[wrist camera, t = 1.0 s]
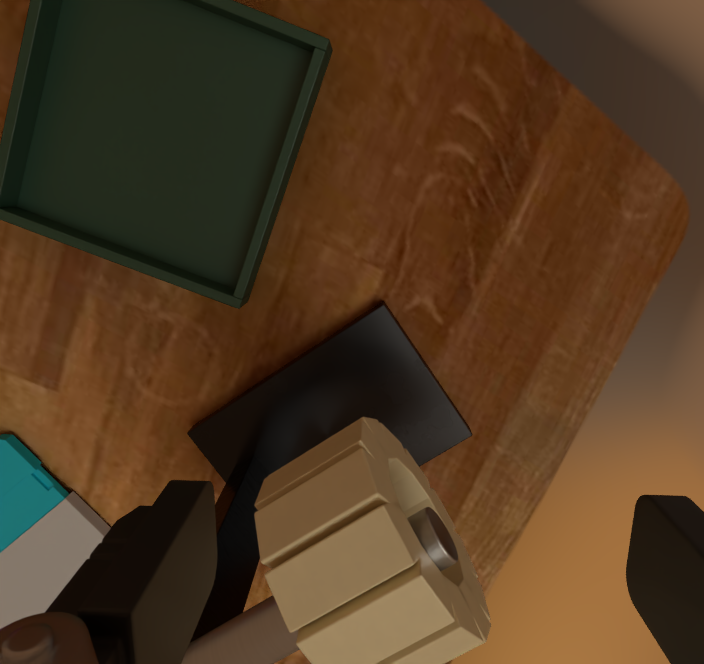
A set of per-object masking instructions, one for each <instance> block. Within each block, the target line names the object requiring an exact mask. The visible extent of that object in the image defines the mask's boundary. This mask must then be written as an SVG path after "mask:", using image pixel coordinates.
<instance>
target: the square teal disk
mask: <svg viewBox="0 0 704 664" xmlns="http://www.w3.org/2000/svg"><path fill="white" fill-rule="evenodd" d="M40 464H41V462H40V461H39V460H38V459H37V458H36V457H35V456H34V455H33V454H32V453H31V452H30V451H29V450H28V449H27V448H26V447H25V446H24V445H23V444H22V443H21V442H20V441H19V440H18V439H17V438H16V437H15V436H14V435H12V434H2V435H0V629H1V628H3V627H5V626H7V625H9V624H11V623H12V622H15V621H17V620H20V619H22V618H25V617H28V616H31V615H35V614H40V613H45V611H46V610H47V609H48V608H49V606H50V605H51V604H52V602H53V601H54V600H55V599H56V597H57V596H58V595H59V594H60V592H61V591H62V590H63V589H64V587H65V586H66V585H67V583H68V582H69V581H70V580H71V578H72V577H73V576H74V575H75V573H76V572H77V571H78V569H79V568H80V567H81V566H82V564H83V563H84V562H85V561H86V559H89V558H90V554H91V553H92V552H93V550H94V549H95V548H96V547H97V545H98V544H99V543H102V539H103V538H104V536H105V535H106V534H107V533H108V531H109V530H110V529H111V528H110V527H109V526H108V525H107V524H106V523H105V522H104V521H103V520H102V519H101V518H100V517H99V516H98V515H97V514H96V513H95V512H94V511H93V510H92V509H91V508H90V507H89V506H88V505H87V504H86V503H85V502H84V501H83V500H82V499H81V498H80V497H79V496H78V495H77V494H76V493H75V492H74V491H72V492H71V493H70V494H69V493H68V492H67V491H66V490H65V489H64V488H63V487H62V486H61V485H60V484H59V483H58V482H57V481H56V480H55V479H54V478H53V477H52V476H51V475H50V474H49V473H48V472H47V471H46V470H44V469H43V468H42V467H41V466H40Z"/></svg>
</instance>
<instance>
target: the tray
mask: <svg viewBox="0 0 704 664" xmlns="http://www.w3.org/2000/svg"><path fill="white" fill-rule="evenodd" d="M331 54H332V47H331V44H330V41H329V39H327V38H325V37H322V36H320V35H317V34H315V33H312V32H310V31H308V30H305V29H303V28H300V27H298V26H295V25H293V24H290V23H288V22H285V21H283V20H280V19H278V18H275V17H273V16H270V15H268V14H265V13H263V12H260V11H258V10H255V9H253V8H250V7H248V6H245V5H243V4H241V3H238V2H236V1H233V0H30V5H29V10H28V14H27V19H26V24H25V29H24V34H23V38H22V43H21V48H20V53H19V57H18V62H17V67H16V72H15V77H14V81H13V86H12V91H11V96H10V100H9V105H8V110H7V115H6V119H5V124H4V129H3V134H2V139H1V143H0V220H3V221H6V222H8V223H11V224H14V225H16V226H19V227H22V228H24V229H27V230H30V231H32V232H35V233H38V234H40V235H43V236H46V237H48V238H51V239H54V240H56V241H59V242H62V243H64V244H67V245H70V246H72V247H75V248H78V249H80V250H83V251H86V252H88V253H91V254H94V255H96V256H99V257H102V258H104V259H107V260H110V261H112V262H115V263H118V264H120V265H123V266H126V267H128V268H131V269H134V270H136V271H139V272H142V273H144V274H147V275H150V276H152V277H155V278H158V279H160V280H163V281H166V282H168V283H171V284H174V285H176V286H179V287H182V288H184V289H187V290H190V291H192V292H195V293H198V294H200V295H203V296H206V297H208V298H211V299H214V300H216V301H219V302H222V303H224V304H227V305H230V306H232V307H235V308H238V309H240V308H241V307H242V306H243V305H244V304H245V303H247V302H248V300H249V297H250V294H251V291H252V288H253V285H254V282H255V279H256V276H257V273H258V270H259V267H260V264H261V261H262V258H263V255H264V252H265V249H266V246H267V243H268V240H269V237H270V235H271V232H272V229H273V226H274V223H275V220H276V217H277V214H278V211H279V208H280V205H281V202H282V199H283V196H284V193H285V190H286V187H287V184H288V181H289V178H290V175H291V172H292V169H293V166H294V163H295V160H296V157H297V155H298V152H299V149H300V146H301V143H302V140H303V137H304V134H305V131H306V128H307V125H308V122H309V119H310V116H311V113H312V110H313V107H314V104H315V101H316V98H317V95H318V92H319V89H320V86H321V83H322V80H323V77H324V75H325V72H326V69H327V66H328V63H329V60H330V57H331Z"/></svg>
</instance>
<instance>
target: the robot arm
mask: <svg viewBox="0 0 704 664" xmlns="http://www.w3.org/2000/svg"><path fill="white" fill-rule="evenodd" d="M216 568H217V537H216V518H215V499H214V488H213V485H212V483H211V482H210V481H187V480H171V481H170V482H169V483H168V484H167V486H166V487H165V488H164V490H163V491H162V493H161V494H160V495H159V497H158V498H157V500H156V501H155V502H154V504H153V505H152V506H139V507H137V508H136V509H134V510H133V511H131V512H130V513H128V514H127V515H125V516H123V517H122V518H120V519H119V520H117V521H116V523H115V524H114V525H113V526H112V528H111V529H110V530H109V531H108V533H107V534H106V535H105V536H104V538H103V539H102V543H99V544H98V545H97V547H96V548H95V549H94V550H93V552H92V553H91V554H90V558H89V559H86V561H85V562H84V563H83V564H82V566H81V567H80V568H79V569H78V571H77V572H76V573H75V575H74V576H73V577H72V578H71V580H70V581H69V582H68V583H67V585H66V586H65V587H64V589H63V590H62V591H61V592H60V594H59V595H58V596H57V597H56V599H55V600H54V601H53V602H52V604H51V605H50V606H49V608H48V609H47V610H46V611H45V613H40V614H35V615H31V616H28V617H25V618H22V619H20V620H17V621H15V622H12V623H11V624H9V625H7V626H5V627H3V628H1V629H0V664H181V663H182V660H183V658H184V655H185V653H186V651H187V648H188V646H189V643H190V641H191V638H192V636H193V634H194V631H195V629H196V626H197V624H198V621H199V619H200V617H201V614H202V612H203V609H204V607H205V604H206V602H207V600H208V597H209V595H210V592H211V590H212V587H213V584H214V580H215V575H216ZM626 579H627V586H628V591H629V594H630V597H631V600H632V602H633V604H634V606H635V608H636V609H637V611H638V613H639V614H640V616H641V617H642V619H643V620H644V622H645V624H646V625H647V627H648V628H649V630H650V631H651V633H652V635H653V636H654V638H655V639H656V641H657V643H658V644H659V646H660V647H661V649H662V651H663V652H664V653H665V655H666V657H667V658H668V660H669V662H670V663H671V664H704V512H703V511H702V510H701V509H700V508H699V507H698V506H697V505H696V504H695V503H694V502H693V501H692V500H691V499H689V498H688V497H686V496H668V495H667V496H666V495H642V496H640V497H639V498H638V500H637V503H636V505H635V512H634V518H633V525H632V532H631V539H630V546H629V552H628V559H627V567H626Z"/></svg>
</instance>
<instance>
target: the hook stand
mask: <svg viewBox="0 0 704 664" xmlns="http://www.w3.org/2000/svg"><path fill="white" fill-rule="evenodd" d="M362 417H367V418H372V419H377V420H378V422H379V423H382V424H383V425H384V426H385V427H386V428H387V429H388V430H389V431H390V432H391V433H392V434H393V435H394V436H395V437H396V438H397V439H398V440H399V441H400V442H401V443H402V446H403V448H404V449H405V448H406V449H407V451H408V452H409V453H410V455H411V456H412V458H413V459H414V460H415V462H416V463H417V465H418V466H421V465H423V464H424V463H426V462H428V461H429V460H431V459H433V458H435V457H436V456H438V455H440V454H441V453H443V452H445V451H446V450H448V449H450V448H451V447H453V446H455V445H456V444H458V443H460V442H462V441H463V440H465V439H467V438H468V437H470V436H472V433H471V430H470V428H469V426H468V425H467V423H466V422H465V420H464V419H463V417H462V416H461V414H460V413H459V411H458V410H457V408H456V407H455V405H454V404H453V402H452V401H451V399H450V398H449V397H448V395H447V394H446V392H445V391H444V389H443V388H442V386H441V385H440V383H439V382H438V380H437V379H436V377H435V376H434V374H433V373H432V371H431V370H430V368H429V367H428V365H427V364H426V363H425V361H424V360H423V358H422V357H421V355H420V354H419V352H418V351H417V349H416V348H415V346H414V345H413V343H412V342H411V340H410V339H409V337H408V336H407V334H406V333H405V331H404V330H403V329H402V327H401V326H400V324H399V323H398V321H397V320H396V318H395V317H394V315H393V314H392V312H391V311H390V309H389V308H388V306H387V305H386V303H385V302H384V301H382V302H380V303H379V304H377V305H376V306H374V307H373V308H371V309H370V310H368V311H367V312H365V313H364V314H362V315H361V316H359V317H358V318H356V319H355V320H353V321H352V322H350V323H349V324H347V325H345V326H344V327H342V328H341V329H339V330H338V331H336V332H335V333H333V334H332V335H330V336H329V337H327V338H326V339H324V340H323V341H321V342H320V343H318V344H317V345H315V346H314V347H312V348H311V349H309V350H307V351H306V352H304V353H303V354H301V355H300V356H298V357H297V358H295V359H294V360H292V361H291V362H289V363H288V364H286V365H285V366H283V367H282V368H280V369H279V370H277V371H276V372H274V373H272V374H271V375H269V376H268V377H266V378H265V379H263V380H262V381H260V382H259V383H257V384H256V385H254V386H253V387H251V388H250V389H248V390H247V391H245V392H244V393H242V394H241V395H239V396H237V397H236V398H234V399H233V400H231V401H230V402H228V403H227V404H225V405H224V406H222V407H221V408H219V409H218V410H216V411H215V412H213V413H212V414H210V415H209V416H207V417H206V418H204V419H202V420H201V421H199V422H198V423H196V424H195V425H193V426H192V428H191V429H190V430H189V431H188V433H187V434H188V435H189V437H190V438H191V439H192V440H193V442H194V443H195V444H196V445H197V447H198V448H199V449H200V451H201V452H202V453H203V454H204V456H205V457H206V458H207V459H208V461H209V462H210V463H211V464H212V466H213V467H214V468H215V469H216V471H217V472H218V473H219V475H220V476H221V477H222V478H223V480H224V481H225V482H226V485H225V486H224V488H223V490H222V492H221V494H220V496H219V498H218V500H217V502H216V504H215V518H216V537H217V568H216V575H215V580H214V584H213V587H212V590H211V592H210V595H209V597H208V600H207V602H206V604H205V607H204V609H203V612H202V614H201V617H200V619H199V621H198V624H197V626H196V629H195V631H194V634H193V636H192V638H191V641H190V643H189V646H188V648H187V651H186V653H185V655H184V658H183V660H182V663H181V664H274V663H276V662H278V661H279V660H281V659H283V658H285V657H287V656H288V655H290V654H292V653H294V652H296V651H297V650H299V648H298V646H297V645H296V640H297V635H298V630H296V631H294V632H292V633H290V632H289V631H288V629H287V626H286V624H285V622H284V619H283V617H282V615H281V612H280V610H279V608H278V605H277V603H276V601H275V598H274V596H271V597H269V598H267V599H266V600H264V601H262V602H260V603H259V604H257V605H255V606H253V607H252V608H250V609H248V610H247V611H245V612H243V610H244V607H245V604H246V600H247V597H248V594H249V591H250V588H251V585H252V581H253V578H254V575H255V572H256V569H257V566H258V562H259V559H260V553H259V546H258V538H257V531H256V524H255V517H254V514H255V512H257V511H258V510H257V508H256V507H255V505H254V504H255V502H256V499H257V497H258V494H259V491H260V489H261V486H262V484H263V481H264V479H265V478H267V477H268V475H270V474H272V473H273V472H275V471H276V470H278V469H280V468H281V467H283V466H285V465H286V464H288V463H289V462H291V461H293V460H294V459H296V458H297V457H299V456H301V455H302V454H304V453H305V452H307V451H309V450H310V449H312V448H314V447H315V446H317V445H318V444H320V443H322V442H323V441H325V440H326V439H328V438H330V437H331V436H333V435H334V434H336V433H338V432H339V431H341V430H343V429H344V428H346V427H347V426H349V425H351V424H352V423H354V422H355V421H357V420H359V419H360V418H362ZM407 520H408V522H409V523H410V525H411V527H412V529H413V531H414V533H415V535H416V536H417V538H418V540H419V542H420V544H421V546H422V547H423V548H424V550H425V551H426V552H427V554H428V555H429V556H430V558H431V559H432V561H433V562H434V563H435V565H436V566H437V567H438V569H439V570H440V572H441V571H443V570H445V569H446V568H448V567H450V566H452V565H454V564H455V563H457V562H458V553H457V549H456V547H455V544H454V542H453V539H452V537H451V535H450V533H449V532H448V530H447V528H446V526H445V525H444V523H443V521H442V520H441V519H440V517H439V516H438V515H437V513H436V512H435V511H434V510H433V509H432V508H430V507H425V508H424V509H422V510H420V511H418V512H417V513H415V514H413V515H411V516H410V517H408V518H407Z"/></svg>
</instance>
